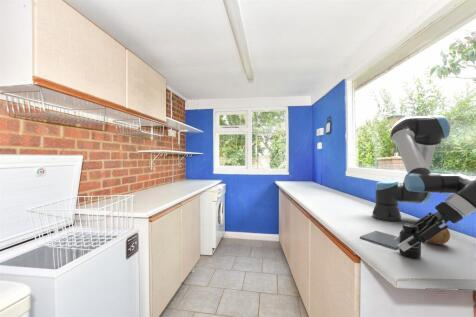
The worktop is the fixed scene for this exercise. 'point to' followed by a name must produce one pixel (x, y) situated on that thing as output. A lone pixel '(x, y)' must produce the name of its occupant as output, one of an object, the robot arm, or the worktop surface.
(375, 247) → the worktop surface
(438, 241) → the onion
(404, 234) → the supplement bottle
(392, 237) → the slate tile
